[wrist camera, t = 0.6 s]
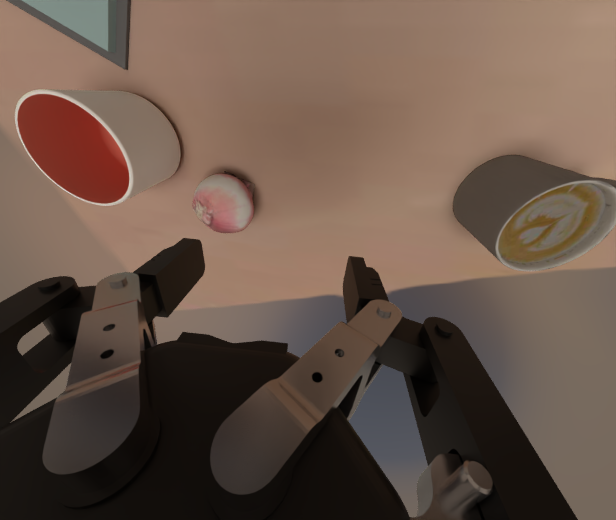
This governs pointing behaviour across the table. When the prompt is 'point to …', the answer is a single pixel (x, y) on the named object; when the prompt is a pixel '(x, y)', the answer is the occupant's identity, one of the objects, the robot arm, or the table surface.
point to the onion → (224, 203)
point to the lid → (84, 18)
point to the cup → (97, 142)
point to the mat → (121, 40)
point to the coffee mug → (535, 211)
